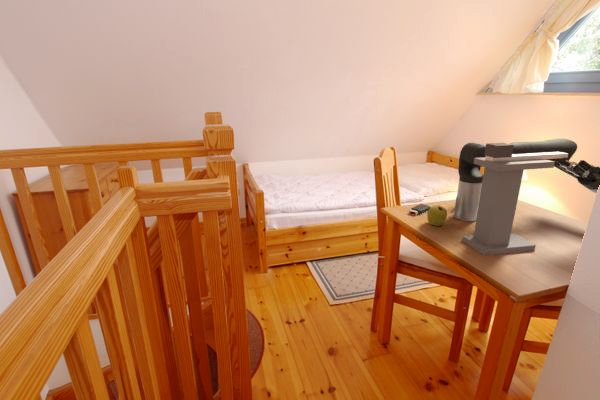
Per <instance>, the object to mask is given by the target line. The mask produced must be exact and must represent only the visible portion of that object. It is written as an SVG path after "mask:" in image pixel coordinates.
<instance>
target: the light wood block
mask: <svg viewBox="0 0 600 400" xmlns="http://www.w3.org/2000/svg"><path fill="white" fill-rule="evenodd" d="M485 145H486V149H485V156H486V159H485V160H487V161H490V162H504V161H522V160H539V159H556V158H567V157H568V153H563V152H545V153H527V154H512V152H513V147H514V145H511V144H510V143H505V142H496V143H495V142H492V143H486V144H485Z"/></svg>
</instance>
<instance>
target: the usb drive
mask: <svg viewBox="0 0 600 400" xmlns="http://www.w3.org/2000/svg"><path fill="white" fill-rule="evenodd" d="M431 207H432V206H430V205H428V204H423V203H420V204H417V205H415V206H413V207H411V208H410V210H409V213H410V214H409V213H408V214H409V215H411V214H414V215H416V216H418V215H417V214H421V215H423V214H425V213H427V212H428V210H429V209H430V208H431ZM426 211H427V212H426ZM424 212H425V213H424ZM422 213H423V214H422ZM414 215H413V216H414Z"/></svg>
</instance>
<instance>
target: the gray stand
mask: <svg viewBox="0 0 600 400" xmlns="http://www.w3.org/2000/svg"><path fill="white" fill-rule="evenodd" d="M485 159H486V157H482V158H474V164H477V165H480V166H483V167H482V168H483V169H484V170H483V181H482V187H481V193H480V200H479V206H478V212H477V218H476V221H475V225H474V232H473V234H469V235H462V237H461V241H462V242H464V243H465V244H466V245H468V246H469V247H470V248H472V249H473V250H475V251H476V252H478V253H479V254H481V255H482V256H489V255H498V254H499V255H500V254H509V253H518V252H531V251H536V248H537V247H536V244H534V243H533V242H531V241H528V240H527V239H525V238H523V237H522V236H520V235H517V234H516V233H514V232H512V229H513V225H514V220H515V215H516V210H517V204H518V200H519V194H520V191H521V185H522V181H523V175H524V170H540V169H541V170H542V169H554V164H555V162H554V161H550V160H545V159H539V160H522V161H504V162H490V161H487V160H485Z"/></svg>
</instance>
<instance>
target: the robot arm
mask: <svg viewBox="0 0 600 400" xmlns="http://www.w3.org/2000/svg"><path fill="white" fill-rule="evenodd" d="M509 144H511V145H514V147H513V152H512V154H527V153H545V152H563V153H568V157H567V158H556V159H545V160H550V161H554V162H555V164H554V167H555V168H556V169H558V170H560V171H562V172H564V173H565V174H567V175H570V176H571V177H573V178H575V179H576V180H577V182H578V183H579V184H580V185H582V186H583V187H584V188H586V189H588V190H589V192H592V193H594V194H596V193H597V190H598V187H599V185H600V166H596V165H593V164H590V163H589V162H587V161H586V160H585V159H580V161H578V163H577V162H576V161H570V160H571V159H572V158H573V156H574V155H575V153H576V152H577V149H578V144H577V143H576V142H575V141H573V140H571V139H568V138H555V139H554V138H553V139H547V140H542V141H541V140H540V141H538V140H537V141H515V142H511V143H509ZM485 149H486V144H481V143H476V142H467V143H466V144H464V145H463V147H462V148H461V149H460V152H459V158H458V169H457V171H458V175H459V179H458V186H457V193H456V194H457V195H456V197H455V202H454V203H455V205H454V209H453V219H457V220H459V221H463V222H476V218H477V212H478V206H479V200H480V193H481V187H482V181H483V175H484V173H482V172H481V170H480V171H479V169H478V167H481V168H484V167H483V166H480V165H477V164H474V158H482V157H486V156H485Z"/></svg>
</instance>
